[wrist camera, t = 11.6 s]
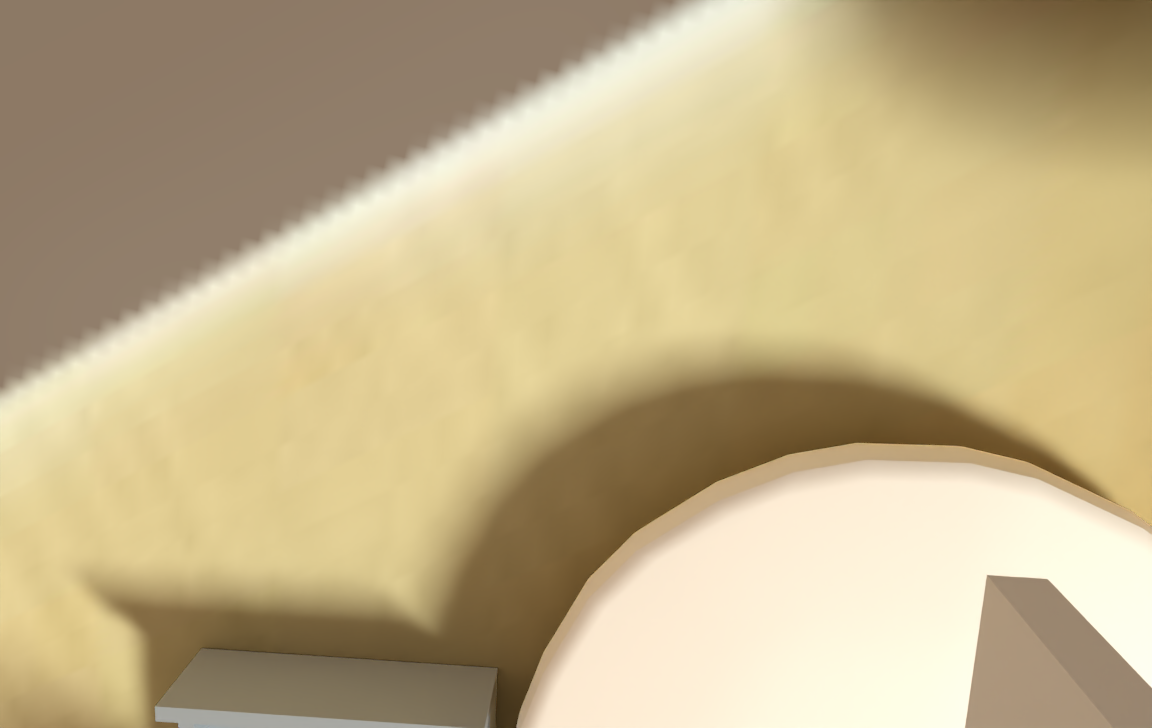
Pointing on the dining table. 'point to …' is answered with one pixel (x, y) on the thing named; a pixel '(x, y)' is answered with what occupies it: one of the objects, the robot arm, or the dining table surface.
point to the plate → (834, 593)
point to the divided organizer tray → (326, 693)
